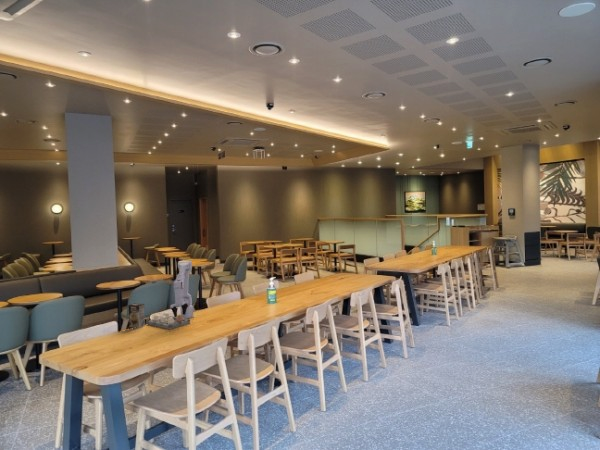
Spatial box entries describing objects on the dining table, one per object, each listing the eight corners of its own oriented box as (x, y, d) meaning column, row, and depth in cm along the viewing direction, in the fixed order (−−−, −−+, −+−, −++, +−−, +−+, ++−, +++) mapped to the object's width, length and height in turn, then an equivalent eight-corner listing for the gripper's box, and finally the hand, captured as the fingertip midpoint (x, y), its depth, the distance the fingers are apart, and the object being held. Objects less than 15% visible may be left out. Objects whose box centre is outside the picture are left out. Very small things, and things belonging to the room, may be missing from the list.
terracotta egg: (180, 321, 306) (180, 313, 306) (184, 322, 304) (184, 314, 304) (175, 322, 303) (175, 315, 303) (179, 323, 300) (179, 315, 300)
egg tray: (167, 318, 319) (167, 309, 319) (190, 323, 305) (189, 314, 304) (147, 324, 305) (146, 315, 304) (169, 329, 290) (169, 319, 290)
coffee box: (128, 327, 298) (127, 304, 298) (134, 324, 305) (134, 302, 304) (139, 327, 296) (138, 305, 295) (145, 325, 302) (144, 303, 301)
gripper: (174, 299, 294) (175, 318, 295) (190, 295, 306) (191, 314, 307) (168, 298, 298) (168, 317, 299) (184, 294, 310) (185, 312, 311)
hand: (179, 315), depth 303 cm, fingers open, 7 cm apart
